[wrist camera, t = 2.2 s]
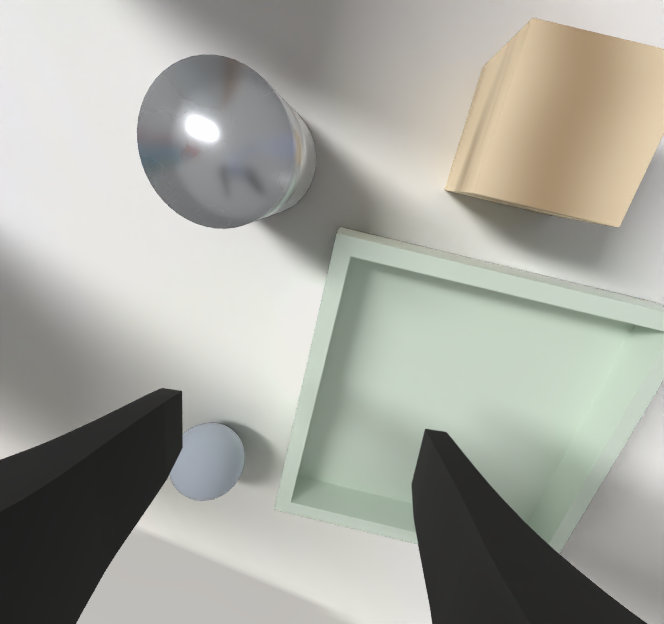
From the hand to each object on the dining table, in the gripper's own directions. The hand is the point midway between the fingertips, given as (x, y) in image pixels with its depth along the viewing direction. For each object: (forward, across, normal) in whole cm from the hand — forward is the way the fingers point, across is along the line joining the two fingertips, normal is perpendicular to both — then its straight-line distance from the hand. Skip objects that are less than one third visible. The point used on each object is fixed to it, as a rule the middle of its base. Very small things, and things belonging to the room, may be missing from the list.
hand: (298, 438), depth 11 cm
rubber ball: (+9, +6, +8) cm, 14 cm away
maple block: (+10, -7, -10) cm, 15 cm away
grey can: (+9, +4, -8) cm, 13 cm away
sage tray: (+9, -7, +3) cm, 12 cm away
